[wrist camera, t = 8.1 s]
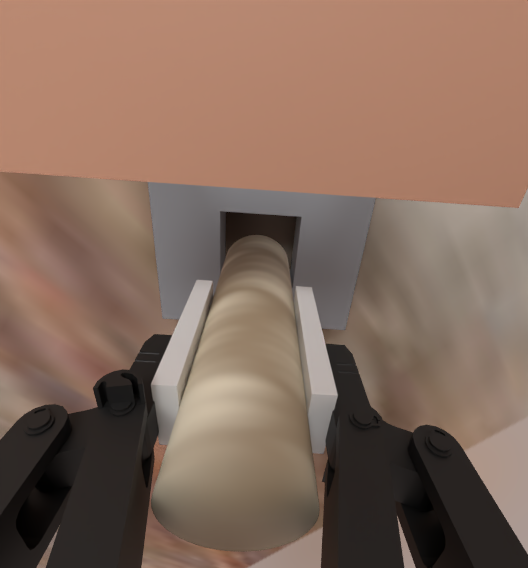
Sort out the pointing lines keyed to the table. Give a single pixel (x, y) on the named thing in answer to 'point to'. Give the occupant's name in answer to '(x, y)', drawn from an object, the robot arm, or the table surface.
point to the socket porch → (270, 117)
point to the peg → (243, 417)
